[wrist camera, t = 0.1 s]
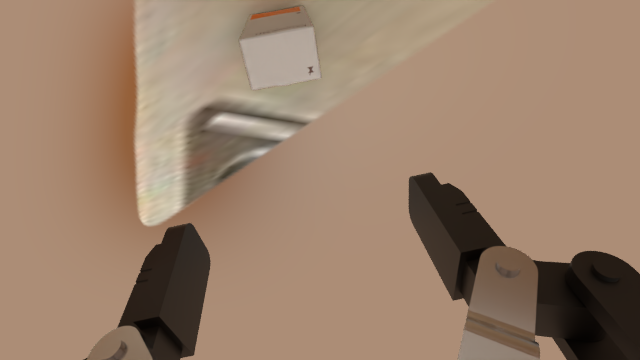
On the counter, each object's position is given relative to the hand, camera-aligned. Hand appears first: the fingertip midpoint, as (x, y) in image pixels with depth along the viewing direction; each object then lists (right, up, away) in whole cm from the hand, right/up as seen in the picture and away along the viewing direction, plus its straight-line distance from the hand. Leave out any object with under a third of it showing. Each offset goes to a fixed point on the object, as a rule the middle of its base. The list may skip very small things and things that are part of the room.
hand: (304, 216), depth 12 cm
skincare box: (-4, +18, +23) cm, 30 cm away
